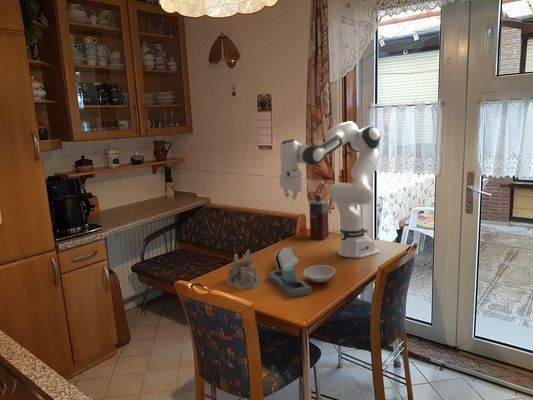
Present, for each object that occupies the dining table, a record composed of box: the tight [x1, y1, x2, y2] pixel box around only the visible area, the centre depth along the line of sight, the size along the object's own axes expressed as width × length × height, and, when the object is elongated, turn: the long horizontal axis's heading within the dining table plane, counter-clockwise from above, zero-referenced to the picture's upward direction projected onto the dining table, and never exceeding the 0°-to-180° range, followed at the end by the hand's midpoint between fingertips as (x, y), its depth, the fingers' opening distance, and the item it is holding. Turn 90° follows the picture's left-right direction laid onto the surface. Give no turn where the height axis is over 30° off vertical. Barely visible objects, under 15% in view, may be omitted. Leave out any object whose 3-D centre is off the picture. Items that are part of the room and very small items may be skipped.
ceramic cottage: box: [226, 249, 261, 290], centre depth 194 cm, size 16×16×15 cm
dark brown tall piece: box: [308, 193, 330, 241], centre depth 259 cm, size 9×11×28 cm
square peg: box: [282, 267, 296, 283], centre depth 188 cm, size 4×4×8 cm
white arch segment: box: [273, 247, 299, 271], centre depth 214 cm, size 17×5×10 cm, turn 154°
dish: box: [302, 264, 336, 283], centre depth 191 cm, size 18×14×5 cm
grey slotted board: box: [267, 270, 312, 299], centre depth 188 cm, size 10×26×3 cm, turn 21°
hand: (290, 198), depth 215 cm, fingers open, 8 cm apart
